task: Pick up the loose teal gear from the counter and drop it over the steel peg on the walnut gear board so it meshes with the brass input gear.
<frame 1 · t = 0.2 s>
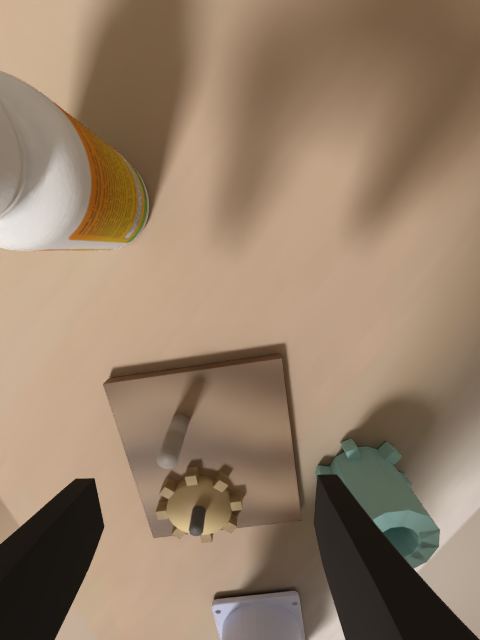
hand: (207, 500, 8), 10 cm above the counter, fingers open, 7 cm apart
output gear: (359, 473, 20), on the counter
supplement bottle: (106, 202, 15), on the counter
gear board: (211, 449, 20), on the counter
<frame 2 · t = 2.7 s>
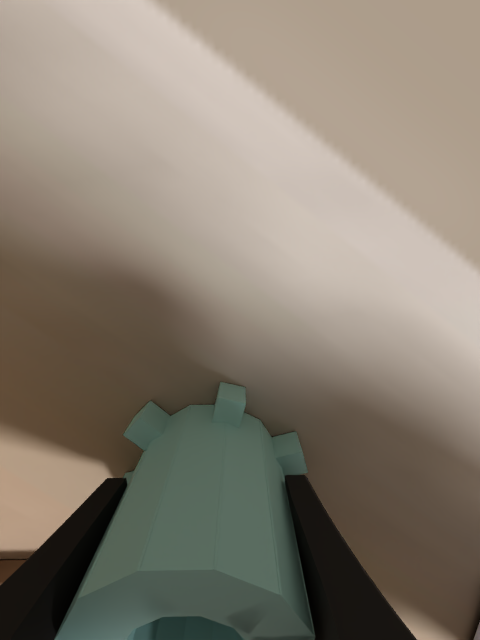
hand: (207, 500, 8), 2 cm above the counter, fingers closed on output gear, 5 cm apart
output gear: (212, 462, 10), on the counter, touching gripper
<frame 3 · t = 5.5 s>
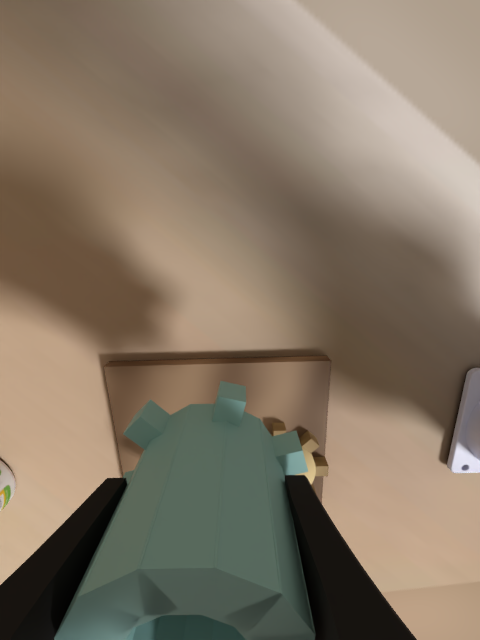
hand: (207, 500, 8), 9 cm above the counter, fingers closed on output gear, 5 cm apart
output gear: (212, 461, 10), point 7 cm above the counter, touching gripper
gear board: (222, 437, 18), on the counter
when the fingers open (3 cm above the counter, at t = 8.5 s): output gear stays where it is, resting on gear board.
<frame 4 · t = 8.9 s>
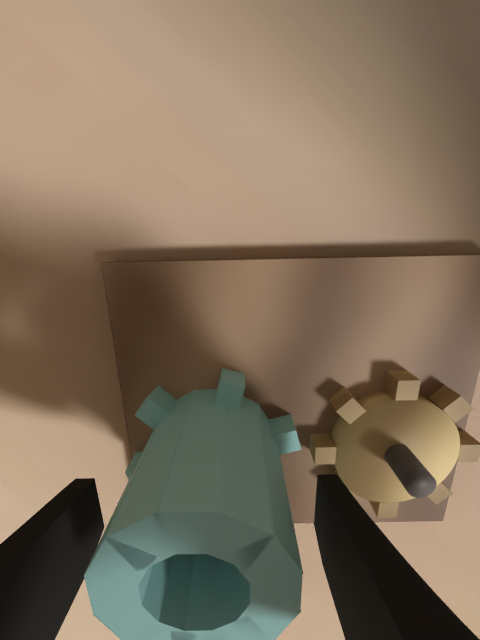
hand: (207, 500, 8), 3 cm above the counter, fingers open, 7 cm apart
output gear: (214, 442, 11), point 1 cm above the counter, touching gear board
gear board: (293, 399, 11), on the counter
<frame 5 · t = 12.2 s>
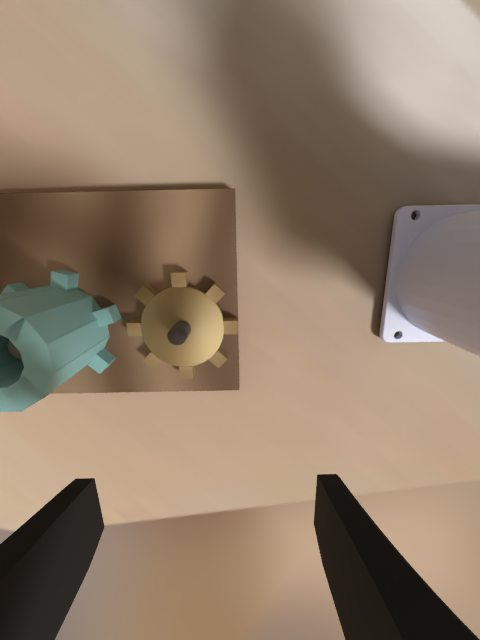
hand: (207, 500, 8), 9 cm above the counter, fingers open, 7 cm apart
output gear: (66, 326, 16), point 1 cm above the counter, touching gear board
gear board: (125, 299, 16), on the counter
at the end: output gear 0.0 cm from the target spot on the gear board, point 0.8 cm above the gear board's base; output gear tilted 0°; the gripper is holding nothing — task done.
